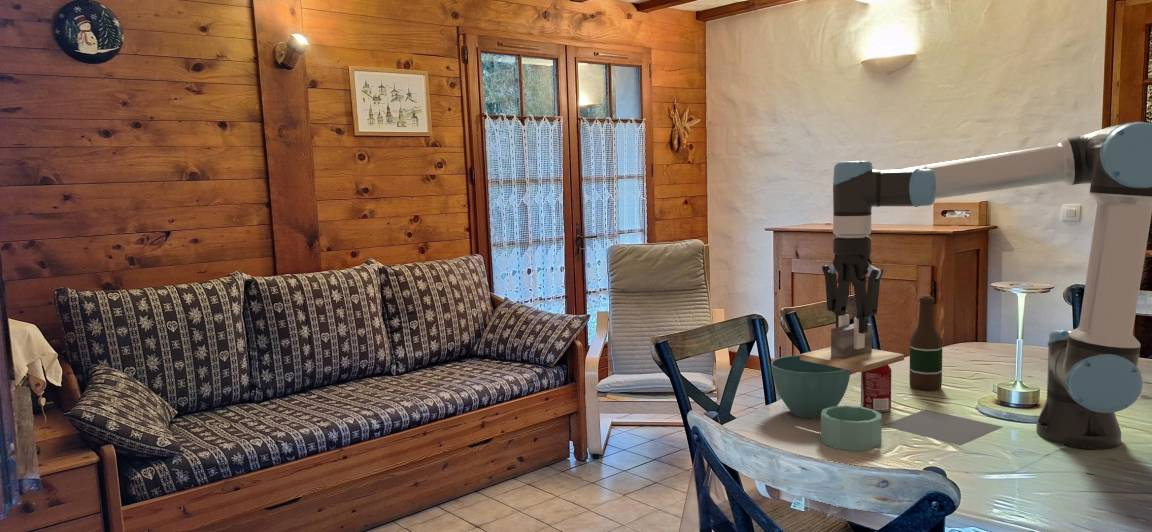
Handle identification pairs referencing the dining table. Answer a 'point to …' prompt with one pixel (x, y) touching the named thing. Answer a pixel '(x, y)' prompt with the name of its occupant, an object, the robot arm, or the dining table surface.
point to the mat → (942, 426)
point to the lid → (851, 352)
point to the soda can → (876, 389)
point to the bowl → (851, 428)
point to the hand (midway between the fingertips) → (851, 346)
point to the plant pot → (808, 385)
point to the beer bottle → (926, 350)
